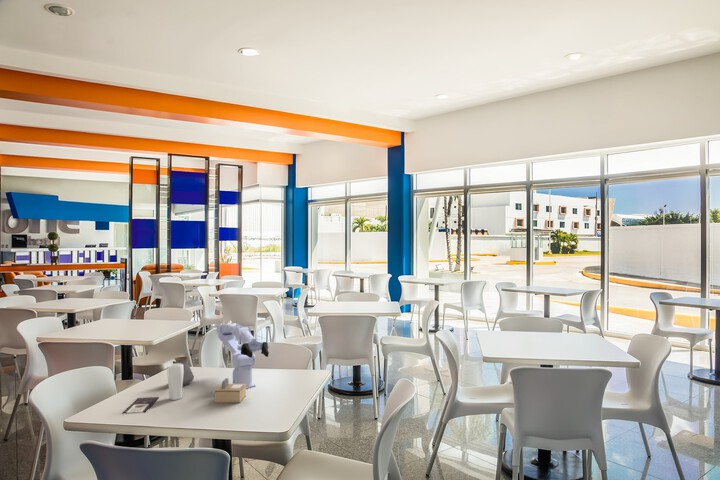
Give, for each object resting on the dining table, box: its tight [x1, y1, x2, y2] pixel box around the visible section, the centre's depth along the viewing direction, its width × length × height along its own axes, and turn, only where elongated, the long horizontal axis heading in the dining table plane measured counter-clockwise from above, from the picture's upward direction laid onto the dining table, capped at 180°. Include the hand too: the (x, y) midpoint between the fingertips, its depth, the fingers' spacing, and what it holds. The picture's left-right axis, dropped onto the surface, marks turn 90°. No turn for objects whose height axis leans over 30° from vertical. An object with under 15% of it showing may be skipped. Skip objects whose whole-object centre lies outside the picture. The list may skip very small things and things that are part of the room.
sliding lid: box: [213, 377, 246, 392], centre depth 209 cm, size 11×9×4 cm
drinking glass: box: [166, 363, 184, 401], centre depth 211 cm, size 7×7×15 cm
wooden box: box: [214, 386, 247, 404], centre depth 209 cm, size 11×9×5 cm
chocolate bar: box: [122, 396, 160, 414], centre depth 203 cm, size 9×1×18 cm
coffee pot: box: [169, 356, 195, 387], centre depth 229 cm, size 21×12×15 cm, turn 6°
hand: (259, 355), depth 211 cm, fingers open, 7 cm apart
